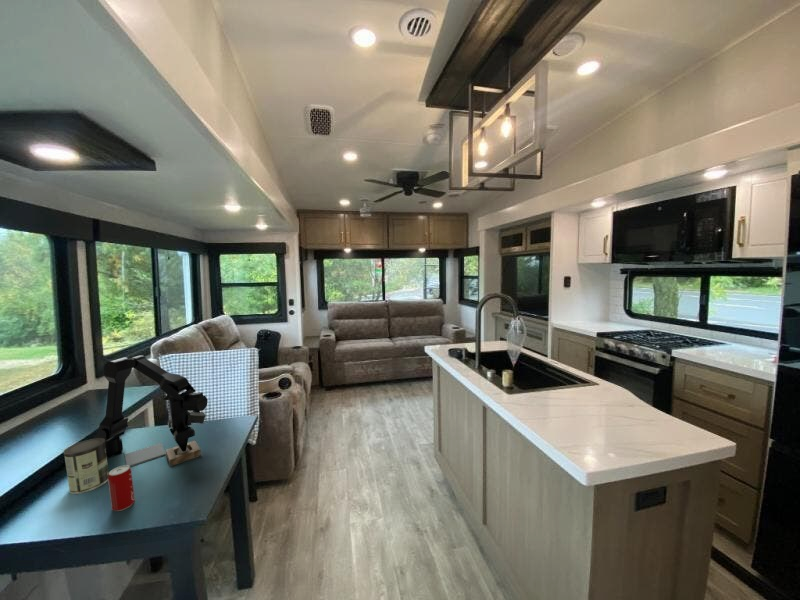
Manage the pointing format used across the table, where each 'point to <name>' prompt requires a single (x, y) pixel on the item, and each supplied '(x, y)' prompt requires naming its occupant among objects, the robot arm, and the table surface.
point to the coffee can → (86, 465)
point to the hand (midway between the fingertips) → (182, 448)
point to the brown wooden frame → (185, 456)
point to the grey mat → (144, 455)
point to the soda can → (121, 488)
